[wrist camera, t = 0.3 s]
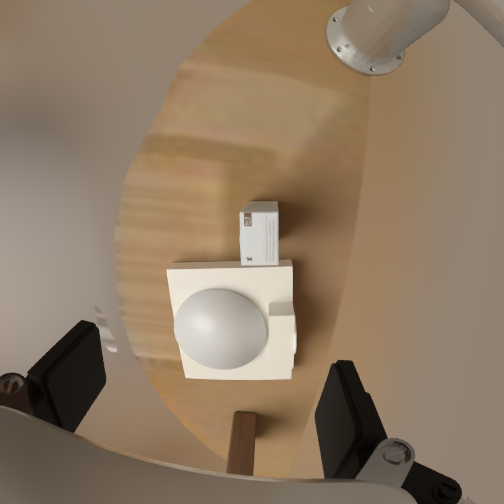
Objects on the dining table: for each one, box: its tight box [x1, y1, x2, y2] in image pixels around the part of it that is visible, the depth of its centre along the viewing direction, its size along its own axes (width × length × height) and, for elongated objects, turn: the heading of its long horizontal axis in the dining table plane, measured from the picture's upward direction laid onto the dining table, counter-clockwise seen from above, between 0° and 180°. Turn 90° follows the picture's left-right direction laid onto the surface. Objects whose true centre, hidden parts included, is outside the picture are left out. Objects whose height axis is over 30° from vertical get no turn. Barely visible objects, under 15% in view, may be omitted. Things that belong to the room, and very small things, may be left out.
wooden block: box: [226, 412, 257, 476], centre depth 47 cm, size 9×4×18 cm, turn 177°
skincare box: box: [240, 201, 279, 266], centre depth 38 cm, size 6×4×12 cm
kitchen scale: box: [167, 259, 298, 380], centre depth 44 cm, size 20×18×8 cm
